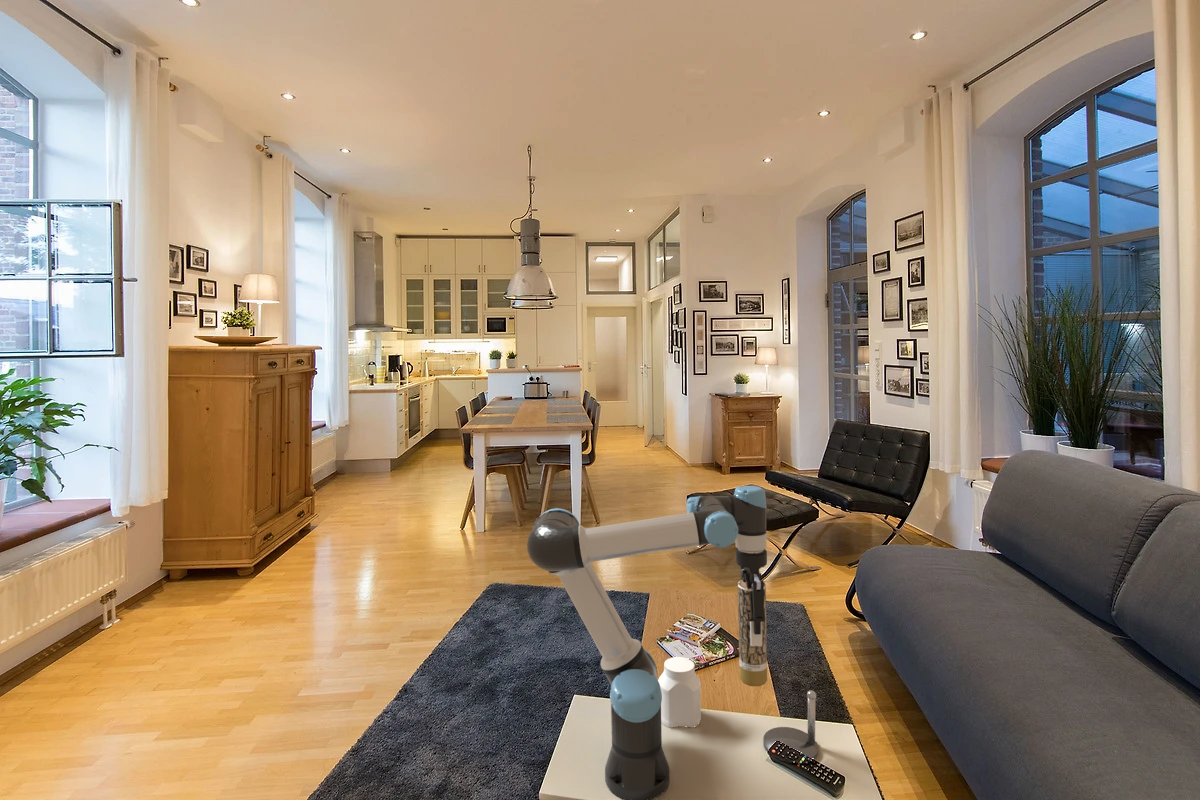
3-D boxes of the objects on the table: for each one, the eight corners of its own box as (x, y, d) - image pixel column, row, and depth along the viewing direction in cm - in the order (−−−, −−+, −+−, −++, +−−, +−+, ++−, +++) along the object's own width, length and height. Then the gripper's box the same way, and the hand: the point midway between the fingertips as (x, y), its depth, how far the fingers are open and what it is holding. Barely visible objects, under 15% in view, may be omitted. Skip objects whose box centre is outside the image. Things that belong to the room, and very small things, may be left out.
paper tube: (768, 688, 150) (766, 589, 148) (739, 686, 151) (738, 588, 149) (766, 674, 156) (764, 579, 155) (739, 672, 158) (737, 578, 156)
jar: (659, 727, 162) (658, 673, 161) (657, 707, 171) (657, 655, 170) (703, 728, 161) (702, 673, 160) (699, 707, 171) (698, 655, 170)
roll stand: (771, 764, 146) (771, 706, 145) (757, 731, 159) (757, 678, 158) (825, 763, 146) (825, 705, 145) (807, 730, 159) (807, 677, 158)
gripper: (777, 561, 142) (779, 657, 143) (756, 536, 161) (757, 621, 163) (745, 562, 142) (747, 658, 143) (727, 537, 161) (729, 622, 163)
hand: (752, 638), depth 153 cm, fingers closed on paper tube, 7 cm apart
